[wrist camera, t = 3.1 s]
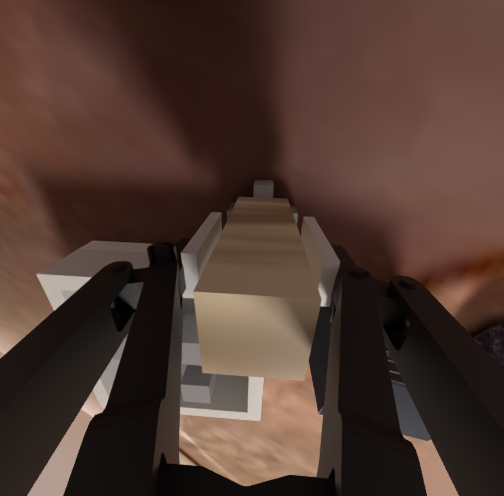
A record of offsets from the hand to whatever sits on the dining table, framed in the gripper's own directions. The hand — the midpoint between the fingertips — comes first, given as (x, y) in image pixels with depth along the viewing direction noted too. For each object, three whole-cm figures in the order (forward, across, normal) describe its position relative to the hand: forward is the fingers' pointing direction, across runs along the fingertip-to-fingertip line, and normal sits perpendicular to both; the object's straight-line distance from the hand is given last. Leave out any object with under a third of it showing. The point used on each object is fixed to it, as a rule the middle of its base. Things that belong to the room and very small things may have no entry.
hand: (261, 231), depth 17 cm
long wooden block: (+5, 0, 0) cm, 5 cm away
